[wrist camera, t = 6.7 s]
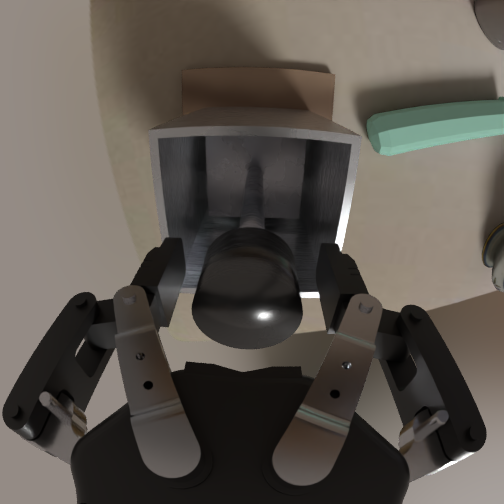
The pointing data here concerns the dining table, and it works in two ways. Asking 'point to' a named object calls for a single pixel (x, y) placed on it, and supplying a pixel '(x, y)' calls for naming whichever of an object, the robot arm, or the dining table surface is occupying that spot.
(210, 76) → the walnut board
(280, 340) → the plunger
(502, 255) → the apothecary jar
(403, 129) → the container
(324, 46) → the dining table surface
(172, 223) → the square mug
